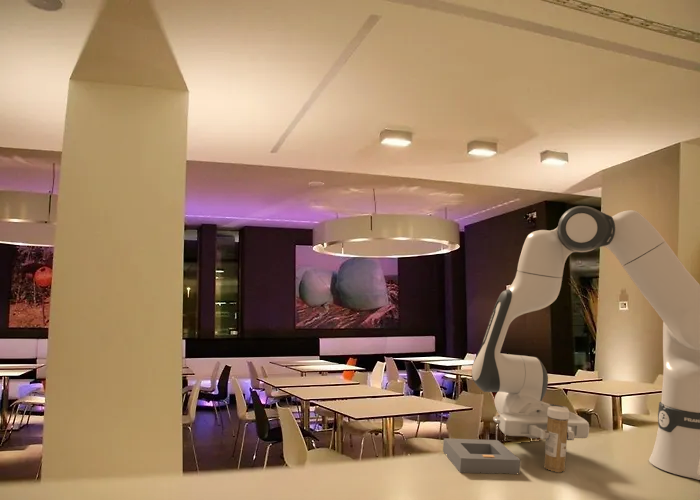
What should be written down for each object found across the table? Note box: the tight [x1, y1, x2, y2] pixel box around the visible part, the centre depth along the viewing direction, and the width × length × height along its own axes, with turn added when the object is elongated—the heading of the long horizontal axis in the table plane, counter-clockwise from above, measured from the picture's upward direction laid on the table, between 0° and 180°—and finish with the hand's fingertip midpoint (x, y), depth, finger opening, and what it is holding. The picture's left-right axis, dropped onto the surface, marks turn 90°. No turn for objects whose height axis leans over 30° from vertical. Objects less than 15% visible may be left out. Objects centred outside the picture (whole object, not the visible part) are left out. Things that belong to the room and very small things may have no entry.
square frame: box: [442, 438, 521, 475], centre depth 133 cm, size 13×13×3 cm
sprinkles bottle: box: [543, 406, 570, 473], centre depth 132 cm, size 5×5×14 cm
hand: (558, 436), depth 132 cm, fingers open, 4 cm apart
